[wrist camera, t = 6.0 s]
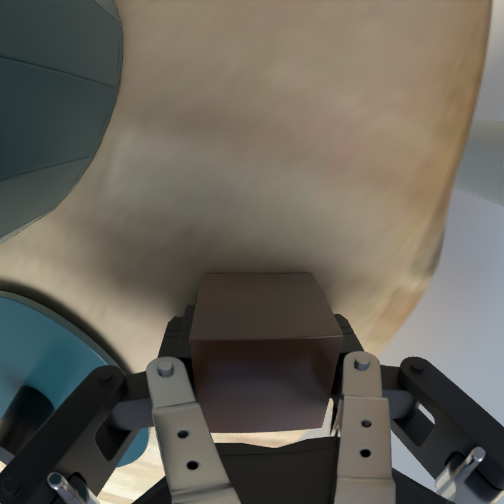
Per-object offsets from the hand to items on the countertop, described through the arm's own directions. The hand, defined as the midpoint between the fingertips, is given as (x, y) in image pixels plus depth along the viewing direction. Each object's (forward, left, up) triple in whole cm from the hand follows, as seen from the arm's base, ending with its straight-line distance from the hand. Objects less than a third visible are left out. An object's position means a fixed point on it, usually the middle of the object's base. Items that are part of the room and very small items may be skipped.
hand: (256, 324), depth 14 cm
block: (0, 0, 0) cm, 0 cm away
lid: (+13, +6, 0) cm, 14 cm away
